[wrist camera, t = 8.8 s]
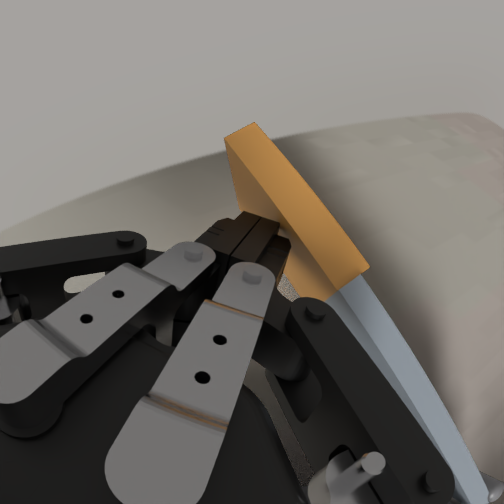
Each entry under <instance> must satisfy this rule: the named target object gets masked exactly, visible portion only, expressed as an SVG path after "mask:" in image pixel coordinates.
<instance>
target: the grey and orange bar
mask: <svg viewBox="0 0 504 504" xmlns="http://www.w3.org/2000/svg"><path fill="white" fill-rule="evenodd" d="M224 140H225V145H226V150H227V155H228V159H229V164H230V168H231V173H232V178H233V182H234V187H235V191H236V196H237V201H238V205H239V209H240V211H241V212H243V211H246V212H249V213H253V214H256V215H259V216H261V217H264V218H267V219H270V220H273V221H276V222H279V223H280V229H279V232H278V235H279V236H282V237H285V238H288V239H289V240H290V243H291V249H290V253H289V256H288V259H287V262H286V265H285V268H284V271H283V272H284V274H285V275H286V277H287V278H288V280H289V281H290V283H291V284H292V286H293V287H294V288H295V290H296V291H297V293H298V294H299V296H300V297H311V298H316V299H319V300H321V301H323V302H325V303H327V304H328V305H330V306H331V307H332V308H333V309H334V310H335V312H336V313H337V314H338V315H339V317H340V318H341V319H342V321H343V322H344V323H345V325H346V326H347V327H348V329H349V330H350V331H351V332H352V334H353V335H354V336H355V338H356V339H357V340H358V342H359V343H360V344H361V346H362V347H363V348H364V350H365V351H366V352H367V354H368V355H369V356H370V358H371V359H372V360H373V362H374V363H375V364H376V366H377V367H378V368H379V370H380V371H381V372H382V374H383V375H384V376H385V378H386V379H387V380H388V382H389V383H390V385H391V386H392V387H393V389H394V390H395V391H396V393H397V394H398V395H399V397H400V398H401V400H402V401H403V402H404V404H405V405H406V406H407V408H408V409H409V411H410V412H411V413H412V415H413V416H414V417H415V419H416V420H417V422H418V423H419V424H420V426H421V427H422V429H423V430H424V431H425V433H426V434H427V436H428V437H429V438H430V440H431V441H432V443H433V444H434V446H435V447H436V448H437V450H438V451H439V453H440V454H441V456H442V457H443V458H444V460H445V461H446V463H447V464H448V466H449V467H450V469H451V470H452V473H453V475H454V479H455V490H454V494H453V496H452V497H453V498H454V499H455V500H457V501H458V502H459V503H461V504H488V503H489V502H494V501H495V500H497V499H498V498H499V497H500V496H501V494H502V493H503V491H504V483H503V482H501V481H499V480H497V479H495V478H493V477H491V476H489V475H487V474H485V473H483V472H481V471H479V470H478V468H477V466H476V464H475V462H474V460H473V458H472V456H471V454H470V452H469V450H468V448H467V446H466V445H465V443H464V441H463V439H462V437H461V435H460V433H459V431H458V429H457V428H456V426H455V424H454V422H453V420H452V418H451V417H450V415H449V413H448V411H447V409H446V408H445V406H444V404H443V402H442V401H441V399H440V397H439V395H438V394H437V392H436V390H435V389H434V387H433V385H432V383H431V382H430V380H429V378H428V377H427V375H426V373H425V372H424V370H423V368H422V367H421V365H420V363H419V362H418V360H417V359H416V357H415V355H414V354H413V352H412V351H411V349H410V347H409V346H408V344H407V343H406V341H405V339H404V338H403V336H402V335H401V333H400V332H399V330H398V329H397V327H396V325H395V324H394V322H393V321H392V319H391V318H390V316H389V315H388V313H387V312H386V310H385V309H384V307H383V306H382V304H381V303H380V301H379V300H378V298H377V297H376V295H375V294H374V293H373V291H372V290H371V288H370V287H369V285H368V284H367V282H366V281H365V280H364V278H363V277H362V275H361V274H362V273H363V272H365V271H366V270H367V269H368V268H370V266H369V264H368V263H367V262H366V260H365V259H364V257H363V256H362V255H361V253H360V252H359V251H358V249H357V248H356V246H355V245H354V244H353V242H352V241H351V240H350V238H349V237H348V236H347V234H346V233H345V232H344V230H343V229H342V228H341V226H340V225H339V224H338V222H337V221H336V220H335V218H334V217H333V216H332V214H331V213H330V212H329V211H328V209H327V208H326V207H325V205H324V204H323V203H322V202H321V200H320V199H319V198H318V197H317V195H316V194H315V193H314V192H313V190H312V189H311V188H310V187H309V185H308V184H307V183H306V182H305V180H304V179H303V178H302V177H301V175H300V174H299V173H298V172H297V171H296V169H295V168H294V167H293V166H292V165H291V163H290V162H289V161H288V160H287V159H286V157H285V156H284V155H283V154H282V153H281V152H280V150H279V149H278V148H277V147H276V146H275V145H274V143H273V142H272V141H271V140H270V139H269V138H268V137H267V135H266V134H265V133H264V132H263V131H262V130H261V129H260V127H259V126H258V125H257V124H256V123H255V122H253V123H252V124H250V125H247V126H246V127H244V128H242V129H240V130H238V131H236V132H234V133H232V134H230V135H229V136H227V137H225V138H224Z"/></svg>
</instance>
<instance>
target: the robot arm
mask: <svg viewBox="0 0 504 504" xmlns="http://www.w3.org/2000/svg"><path fill="white" fill-rule="evenodd" d="M279 229H280V223H279V222H276V221H273V220H270V219H267V218H264V217H261V216H259V215H256V214H253V213H249V212H246V211H243V212H242V213H241V214H240V215H239V216H238V217H237V218H236V219H235V220H232V219H229V218H225V219H222V220H218V221H217V222H216V223H215V224H213V225H212V227H210V228H209V229H208V230H207V231H205V232H204V233H203V234H202V235H201V236H200V237H199V238H198V239H196V240H195V241H194V242H182V243H178V244H176V245H175V246H173V247H172V248H170V249H169V250H167V251H166V252H161V251H155V250H149V249H146V248H147V241H146V239H145V237H144V236H142V235H141V234H139V233H136V232H132V231H116V232H108V233H100V234H92V235H84V236H76V237H68V238H61V239H53V240H46V241H39V242H32V243H25V244H18V245H11V246H5V247H0V504H309V503H308V500H307V498H306V496H305V494H304V492H303V490H302V487H301V485H300V483H299V481H298V479H297V477H296V474H295V472H294V470H293V468H292V465H291V463H290V461H289V459H288V457H287V454H286V452H285V450H284V447H283V445H282V443H281V441H280V438H279V436H278V434H277V431H276V429H275V427H274V424H273V422H272V420H271V417H270V415H269V413H268V411H267V410H266V408H265V407H264V405H263V404H262V402H261V401H260V400H259V399H258V397H257V396H256V395H255V394H254V393H253V392H252V391H251V390H250V389H249V388H247V387H246V386H245V385H244V384H242V383H243V380H244V377H245V374H246V371H247V368H248V365H249V362H250V359H251V358H252V359H254V360H255V361H256V362H258V363H259V364H261V365H262V366H263V367H265V368H266V371H265V373H266V377H267V380H268V382H269V384H270V386H271V388H272V390H273V392H274V394H275V396H276V398H277V400H278V402H279V404H280V406H281V408H282V410H283V412H284V414H285V416H286V418H287V420H288V422H289V424H290V426H291V428H292V430H293V432H294V434H295V436H296V438H297V440H298V441H299V443H300V445H301V447H302V449H303V451H304V453H305V455H306V457H307V459H308V461H309V463H310V464H311V466H312V468H313V470H314V472H315V475H314V476H313V477H312V478H311V480H310V482H309V485H308V497H309V500H310V503H311V504H447V503H448V502H449V501H450V500H451V498H452V496H453V494H454V490H455V479H454V475H453V473H452V470H451V469H450V467H449V466H448V464H447V463H446V461H445V460H444V458H443V457H442V456H441V454H440V453H439V451H438V450H437V448H436V447H435V446H434V444H433V443H432V441H431V440H430V438H429V437H428V436H427V434H426V433H425V431H424V430H423V429H422V427H421V426H420V424H419V423H418V422H417V420H416V419H415V417H414V416H413V415H412V413H411V412H410V411H409V409H408V408H407V406H406V405H405V404H404V402H403V401H402V400H401V398H400V397H399V395H398V394H397V393H396V391H395V390H394V389H393V387H392V386H391V385H390V383H389V382H388V380H387V379H386V378H385V376H384V375H383V374H382V372H381V371H380V370H379V368H378V367H377V366H376V364H375V363H374V362H373V360H372V359H371V358H370V356H369V355H368V354H367V352H366V351H365V350H364V348H363V347H362V346H361V344H360V343H359V342H358V340H357V339H356V338H355V336H354V335H353V334H352V332H351V331H350V330H349V329H348V327H347V326H346V325H345V323H344V322H343V321H342V319H341V318H340V317H339V315H338V314H337V313H336V312H335V310H334V309H333V308H332V307H331V306H330V305H328V304H327V303H325V302H323V301H321V300H319V299H316V298H311V297H301V298H298V299H296V300H294V301H293V302H291V301H290V300H288V299H287V298H285V297H284V296H283V295H282V294H281V293H280V292H279V291H278V289H277V286H278V284H279V282H280V280H281V277H282V274H283V271H284V268H285V265H286V262H287V259H288V256H289V253H290V249H291V243H290V240H289V239H288V238H285V237H282V236H279V235H278V232H279ZM99 272H105V276H104V277H102V278H101V279H99V280H98V281H97V282H95V283H94V284H92V285H91V286H89V287H88V288H86V289H85V290H83V291H82V292H78V293H68V292H66V291H65V290H64V283H65V281H66V280H67V279H69V278H70V277H74V276H80V275H87V274H93V273H99Z"/></svg>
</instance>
